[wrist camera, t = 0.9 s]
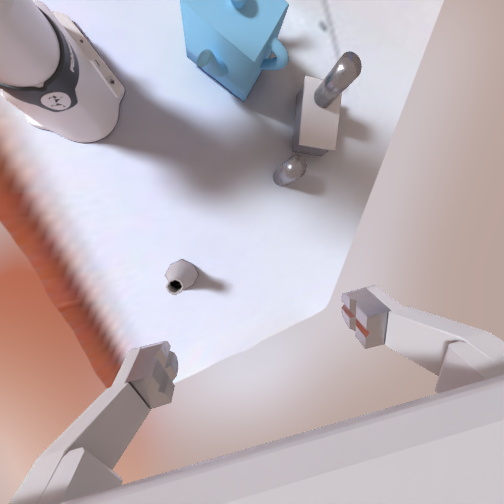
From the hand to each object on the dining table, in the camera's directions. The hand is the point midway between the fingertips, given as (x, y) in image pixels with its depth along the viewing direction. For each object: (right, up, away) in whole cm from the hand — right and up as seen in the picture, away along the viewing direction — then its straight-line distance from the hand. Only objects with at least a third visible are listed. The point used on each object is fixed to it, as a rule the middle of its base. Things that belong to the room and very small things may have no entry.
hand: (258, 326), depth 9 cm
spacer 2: (+15, +38, +35) cm, 54 cm away
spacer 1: (+7, +22, +41) cm, 47 cm away
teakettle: (-6, +46, +36) cm, 59 cm away
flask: (-17, -2, +39) cm, 43 cm away
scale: (+14, +35, +41) cm, 56 cm away
